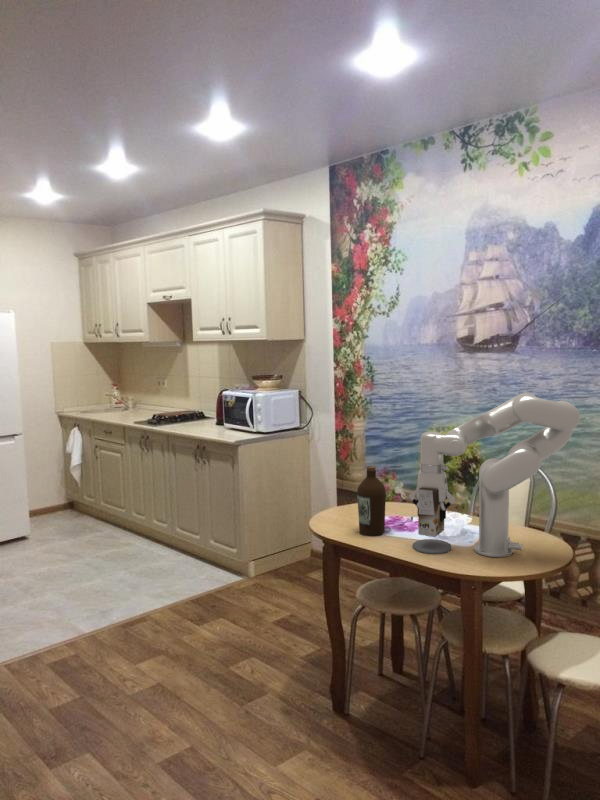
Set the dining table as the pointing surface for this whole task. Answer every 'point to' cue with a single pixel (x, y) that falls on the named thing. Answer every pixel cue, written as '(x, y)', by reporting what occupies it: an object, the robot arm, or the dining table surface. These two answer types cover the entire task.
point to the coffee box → (429, 513)
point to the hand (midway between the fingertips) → (431, 519)
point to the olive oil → (371, 504)
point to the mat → (432, 546)
